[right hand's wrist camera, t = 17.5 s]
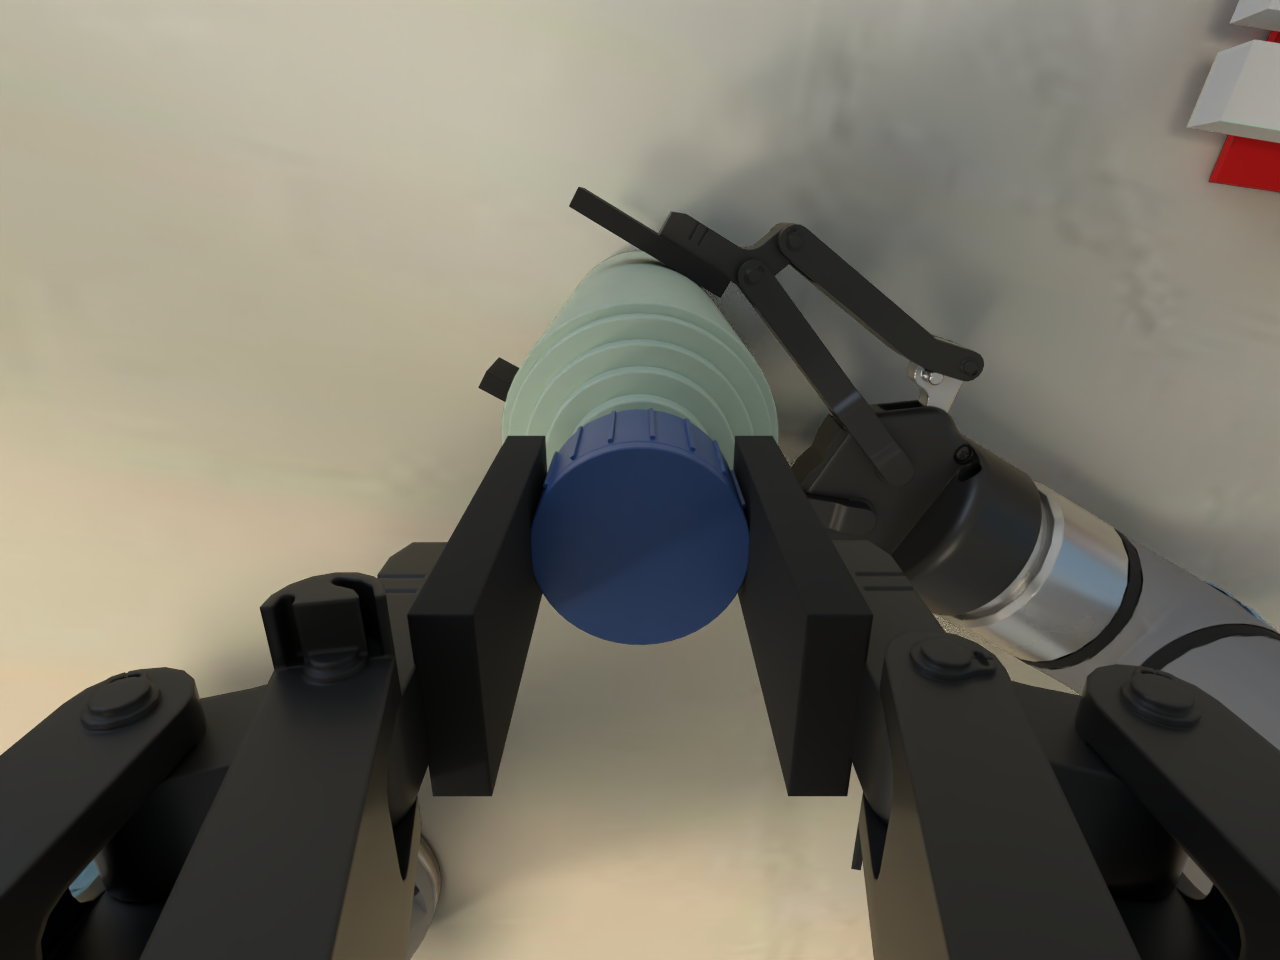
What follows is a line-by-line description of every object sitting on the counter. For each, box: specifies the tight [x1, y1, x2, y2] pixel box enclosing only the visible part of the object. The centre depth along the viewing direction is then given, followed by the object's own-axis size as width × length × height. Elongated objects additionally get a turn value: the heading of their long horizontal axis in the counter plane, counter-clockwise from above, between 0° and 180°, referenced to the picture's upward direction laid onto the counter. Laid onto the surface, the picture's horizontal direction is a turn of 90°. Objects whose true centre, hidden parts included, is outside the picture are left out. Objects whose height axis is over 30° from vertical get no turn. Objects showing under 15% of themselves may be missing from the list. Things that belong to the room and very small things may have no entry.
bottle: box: [501, 251, 778, 473], centre depth 23 cm, size 7×7×23 cm
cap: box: [531, 408, 750, 645], centre depth 13 cm, size 4×4×2 cm
